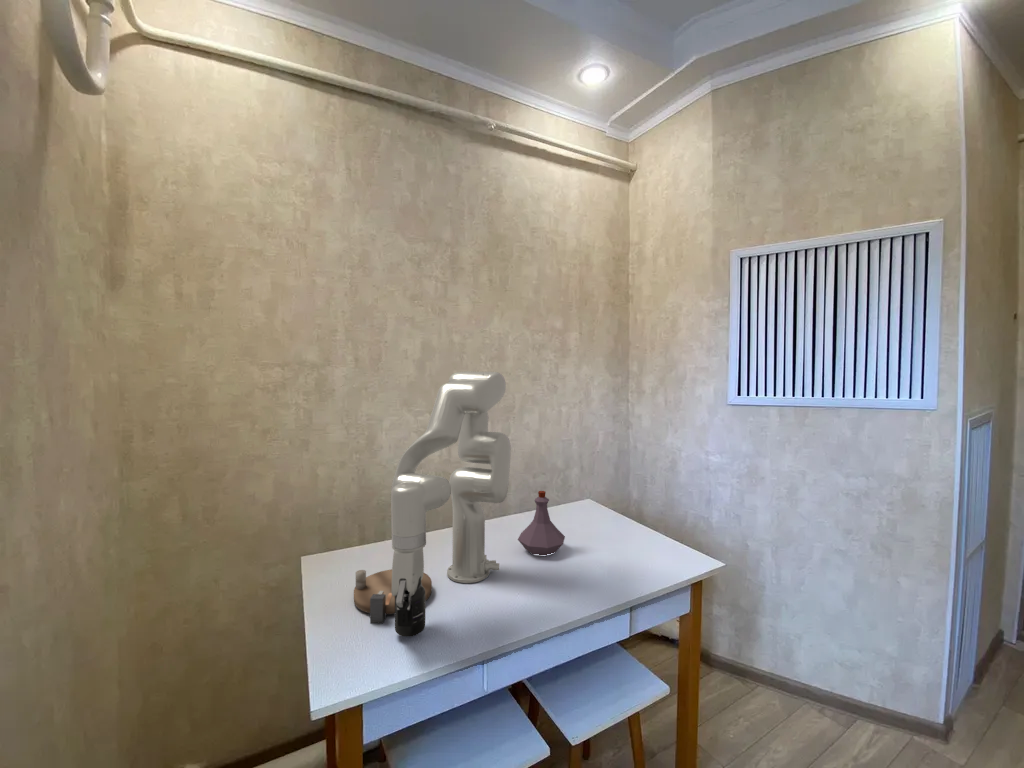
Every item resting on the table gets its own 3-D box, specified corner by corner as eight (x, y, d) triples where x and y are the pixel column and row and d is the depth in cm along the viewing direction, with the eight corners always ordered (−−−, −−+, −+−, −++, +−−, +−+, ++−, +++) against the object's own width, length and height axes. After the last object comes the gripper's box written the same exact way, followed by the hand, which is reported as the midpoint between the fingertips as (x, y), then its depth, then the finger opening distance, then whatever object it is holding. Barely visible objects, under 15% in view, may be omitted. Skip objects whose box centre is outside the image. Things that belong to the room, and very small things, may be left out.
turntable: (406, 568, 128) (406, 549, 128) (446, 593, 114) (446, 571, 114) (340, 592, 114) (340, 570, 114) (377, 624, 100) (377, 598, 100)
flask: (533, 537, 155) (534, 483, 155) (574, 548, 146) (575, 490, 146) (507, 553, 142) (507, 493, 141) (550, 566, 133) (551, 502, 132)
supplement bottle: (418, 640, 93) (417, 586, 93) (389, 636, 95) (388, 583, 94) (430, 621, 100) (429, 571, 99) (403, 617, 101) (402, 568, 101)
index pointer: (387, 615, 105) (387, 591, 105) (382, 623, 101) (382, 598, 101) (375, 614, 105) (375, 590, 105) (370, 623, 102) (370, 598, 101)
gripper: (404, 523, 105) (405, 594, 106) (378, 555, 88) (380, 639, 89) (434, 524, 105) (435, 595, 106) (414, 556, 87) (416, 640, 88)
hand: (410, 614), depth 97 cm, fingers closed on supplement bottle, 6 cm apart
